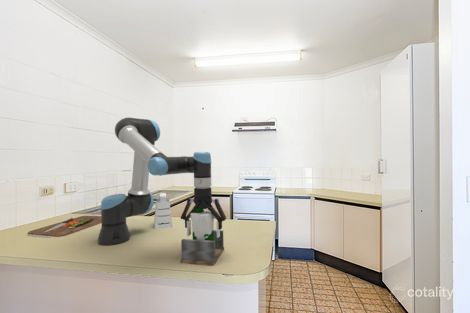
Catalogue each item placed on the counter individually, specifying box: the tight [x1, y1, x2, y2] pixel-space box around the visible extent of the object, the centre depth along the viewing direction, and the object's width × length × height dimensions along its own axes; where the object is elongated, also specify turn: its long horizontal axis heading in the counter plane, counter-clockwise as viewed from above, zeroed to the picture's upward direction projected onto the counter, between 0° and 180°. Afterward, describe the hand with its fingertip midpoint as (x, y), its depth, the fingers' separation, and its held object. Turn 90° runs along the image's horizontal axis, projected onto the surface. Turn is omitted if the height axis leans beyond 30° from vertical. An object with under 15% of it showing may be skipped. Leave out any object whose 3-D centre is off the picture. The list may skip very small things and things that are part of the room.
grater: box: [153, 192, 174, 230], centre depth 153 cm, size 10×10×20 cm
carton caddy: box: [180, 229, 225, 267], centre depth 107 cm, size 14×17×9 cm
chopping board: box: [26, 215, 102, 239], centre depth 157 cm, size 45×27×3 cm, turn 166°
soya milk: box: [189, 207, 215, 241], centre depth 106 cm, size 9×9×20 cm
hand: (203, 235), depth 107 cm, fingers open, 13 cm apart
